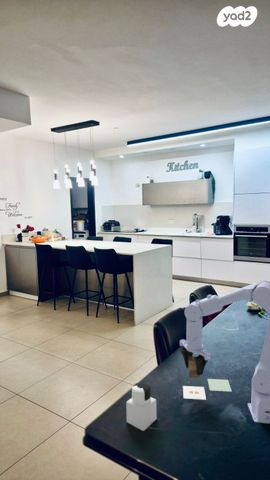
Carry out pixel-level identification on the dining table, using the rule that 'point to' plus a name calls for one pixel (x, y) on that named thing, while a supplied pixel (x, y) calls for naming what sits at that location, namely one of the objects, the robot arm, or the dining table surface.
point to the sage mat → (219, 385)
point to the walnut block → (192, 367)
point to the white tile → (194, 392)
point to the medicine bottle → (141, 407)
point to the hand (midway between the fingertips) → (194, 370)
